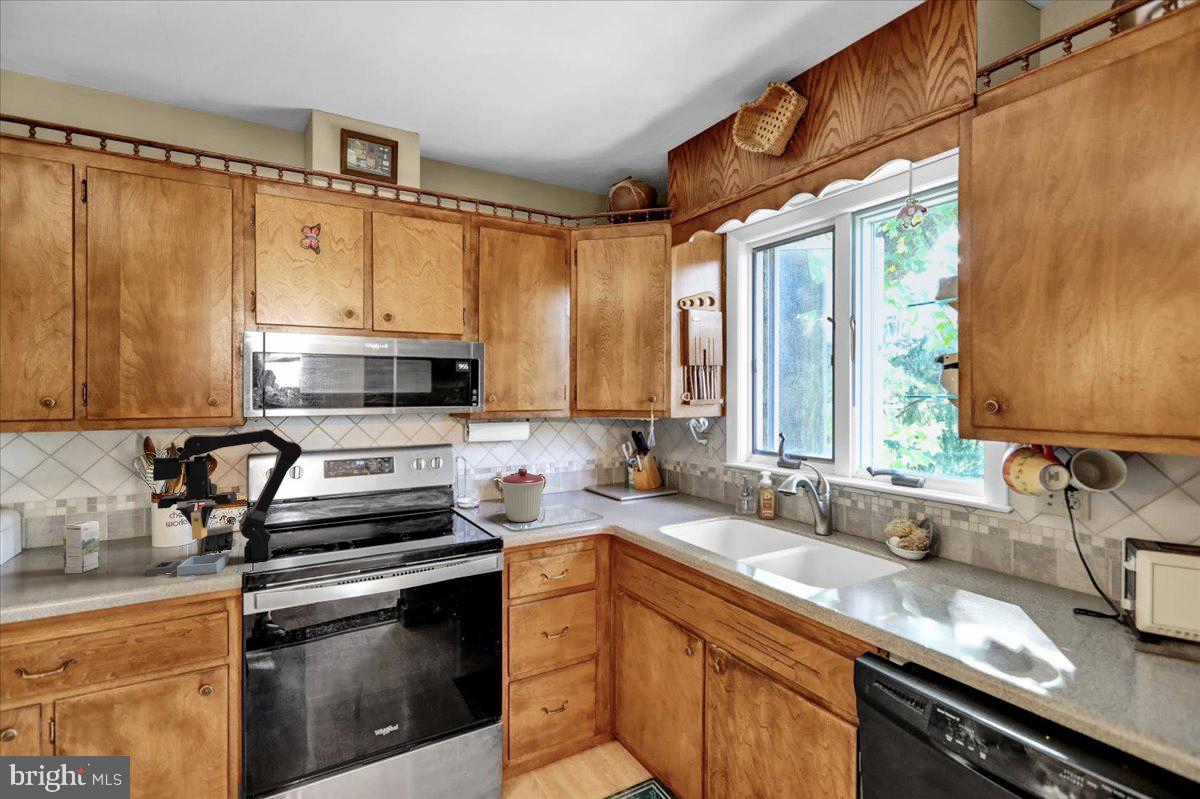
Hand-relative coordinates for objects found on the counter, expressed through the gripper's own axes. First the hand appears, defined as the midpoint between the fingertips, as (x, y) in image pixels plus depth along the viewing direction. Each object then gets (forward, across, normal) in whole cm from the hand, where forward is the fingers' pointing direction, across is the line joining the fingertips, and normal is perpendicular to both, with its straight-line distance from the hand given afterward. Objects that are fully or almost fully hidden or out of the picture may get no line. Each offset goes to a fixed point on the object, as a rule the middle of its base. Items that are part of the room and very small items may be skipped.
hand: (199, 528), depth 164 cm
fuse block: (+13, +10, -1) cm, 16 cm away
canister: (+15, -102, -33) cm, 109 cm away
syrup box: (+12, +34, -9) cm, 38 cm away
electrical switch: (+13, +2, -16) cm, 21 cm away
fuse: (+3, 0, 0) cm, 3 cm away
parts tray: (+13, -1, 0) cm, 13 cm away
